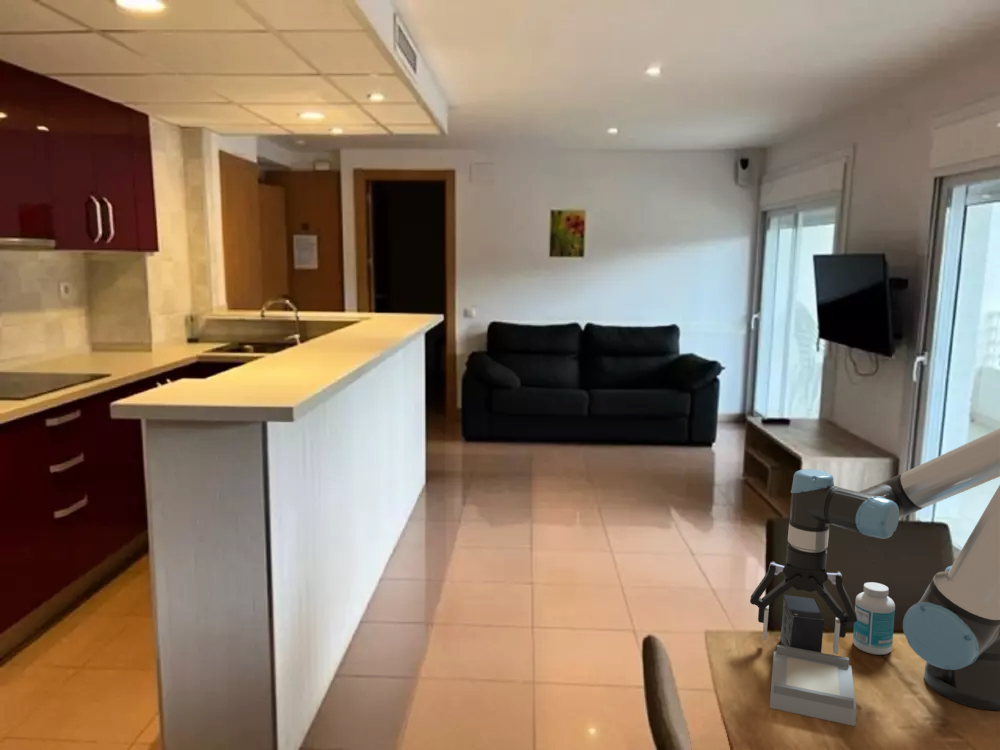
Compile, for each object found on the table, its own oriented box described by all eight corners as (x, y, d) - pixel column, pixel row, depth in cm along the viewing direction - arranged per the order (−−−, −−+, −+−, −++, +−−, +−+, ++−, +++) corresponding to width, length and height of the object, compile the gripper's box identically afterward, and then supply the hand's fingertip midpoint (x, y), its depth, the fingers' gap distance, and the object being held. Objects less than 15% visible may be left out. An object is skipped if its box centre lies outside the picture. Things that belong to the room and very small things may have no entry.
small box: (822, 669, 146) (826, 619, 145) (788, 665, 148) (791, 616, 146) (811, 643, 157) (814, 596, 155) (779, 640, 158) (782, 593, 157)
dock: (849, 680, 142) (851, 658, 142) (855, 726, 128) (857, 702, 127) (773, 665, 148) (774, 644, 147) (769, 707, 133) (771, 684, 132)
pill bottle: (893, 645, 156) (898, 584, 154) (890, 660, 150) (895, 597, 148) (854, 635, 160) (859, 576, 158) (849, 649, 154) (854, 588, 152)
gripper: (874, 549, 148) (864, 647, 151) (744, 530, 157) (737, 623, 160) (877, 562, 141) (867, 665, 144) (741, 542, 150) (734, 639, 153)
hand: (799, 643), depth 152 cm, fingers open, 13 cm apart
